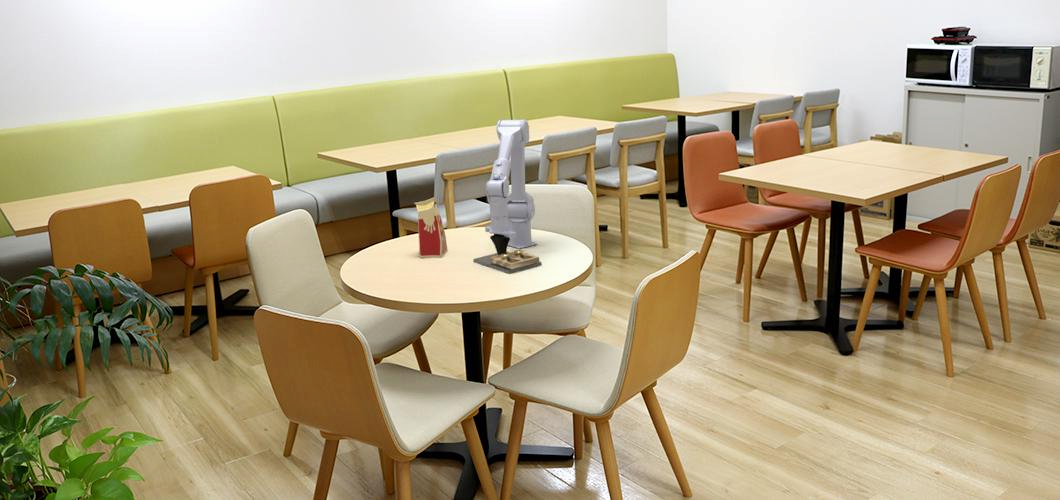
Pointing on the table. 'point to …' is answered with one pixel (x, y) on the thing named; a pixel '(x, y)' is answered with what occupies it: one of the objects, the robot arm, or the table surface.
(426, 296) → the table surface
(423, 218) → the red snack bag
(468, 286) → the table surface
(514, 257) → the panel
